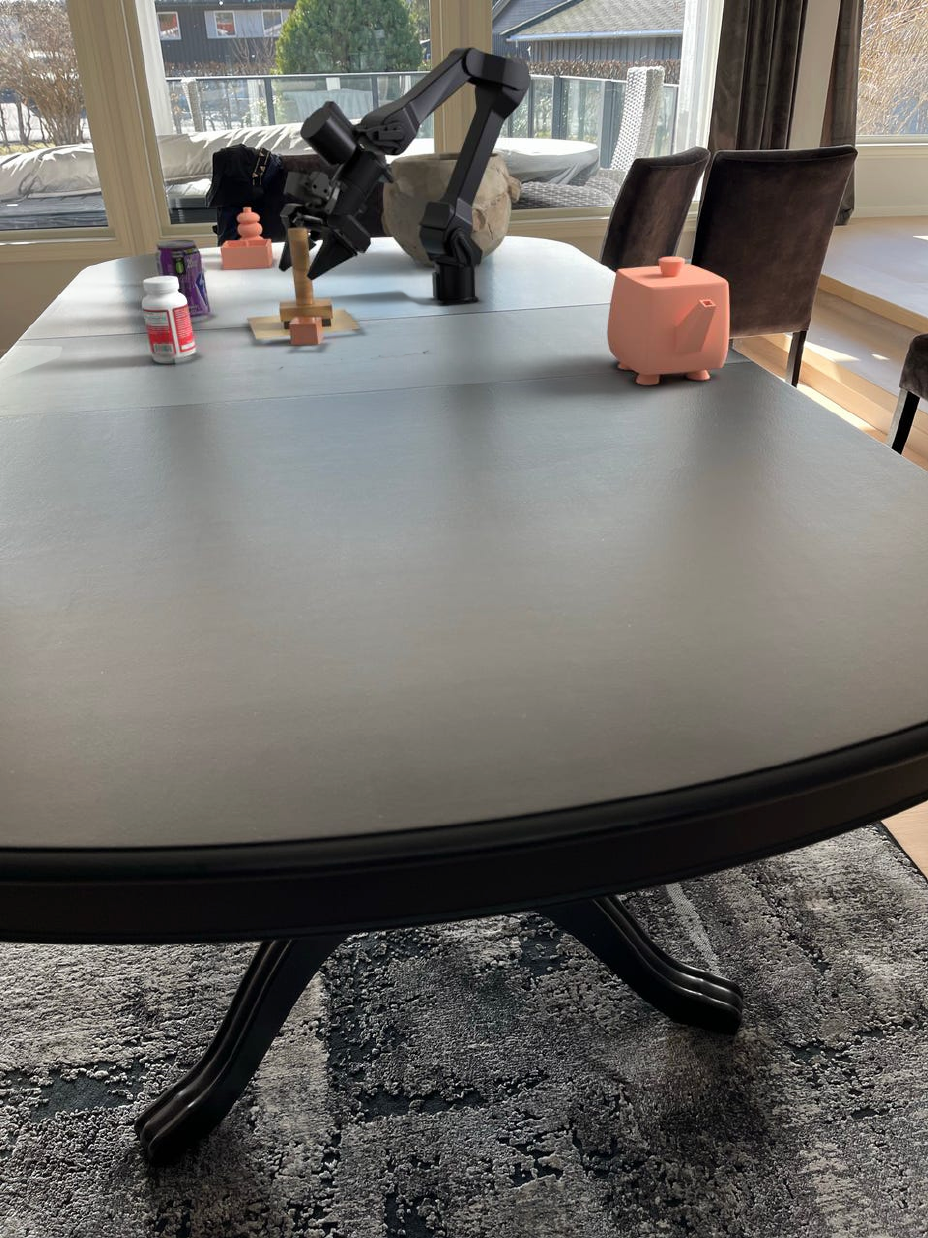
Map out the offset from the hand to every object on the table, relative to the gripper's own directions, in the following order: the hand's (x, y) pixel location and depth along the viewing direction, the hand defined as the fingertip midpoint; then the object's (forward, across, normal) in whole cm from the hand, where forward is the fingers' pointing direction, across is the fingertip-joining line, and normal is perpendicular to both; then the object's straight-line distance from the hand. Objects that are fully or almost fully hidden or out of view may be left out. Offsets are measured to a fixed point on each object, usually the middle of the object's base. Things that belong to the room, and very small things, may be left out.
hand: (294, 274), depth 144 cm
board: (+6, -1, +7) cm, 9 cm away
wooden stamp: (+5, 0, +6) cm, 8 cm away
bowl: (-28, -29, +41) cm, 58 cm away
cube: (+9, +10, +3) cm, 14 cm away
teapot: (-12, +53, +24) cm, 60 cm away
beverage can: (+13, -21, -1) cm, 25 cm away
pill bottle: (+21, +2, -9) cm, 23 cm away
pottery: (-9, -63, +21) cm, 67 cm away
